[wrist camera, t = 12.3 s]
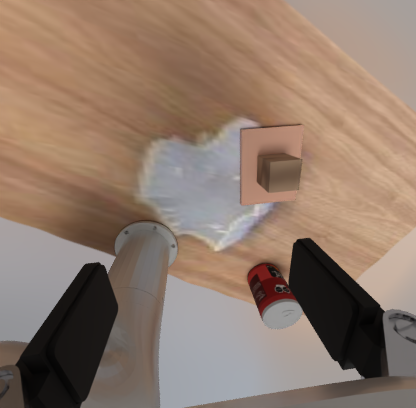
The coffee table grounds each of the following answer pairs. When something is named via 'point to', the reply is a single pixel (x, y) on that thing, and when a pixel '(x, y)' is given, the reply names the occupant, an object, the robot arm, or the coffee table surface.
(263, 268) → the canned food
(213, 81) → the coffee table surface
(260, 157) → the walnut block
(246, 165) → the terracotta tile
